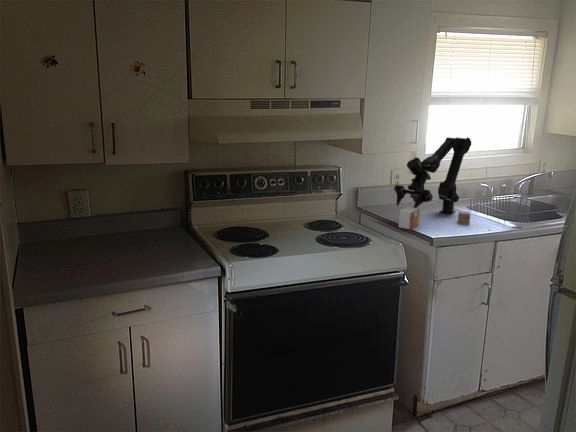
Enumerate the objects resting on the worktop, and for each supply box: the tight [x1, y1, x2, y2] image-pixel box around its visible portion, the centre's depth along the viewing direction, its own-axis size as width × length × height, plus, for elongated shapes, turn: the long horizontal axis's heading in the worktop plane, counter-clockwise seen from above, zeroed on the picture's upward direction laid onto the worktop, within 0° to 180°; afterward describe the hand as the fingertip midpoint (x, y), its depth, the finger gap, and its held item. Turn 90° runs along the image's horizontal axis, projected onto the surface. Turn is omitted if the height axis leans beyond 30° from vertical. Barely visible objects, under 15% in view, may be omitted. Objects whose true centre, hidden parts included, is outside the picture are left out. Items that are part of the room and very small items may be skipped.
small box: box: [397, 206, 421, 230], centre depth 249 cm, size 8×6×10 cm
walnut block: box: [457, 210, 471, 225], centre depth 258 cm, size 5×5×5 cm
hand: (405, 206), depth 256 cm, fingers open, 9 cm apart
